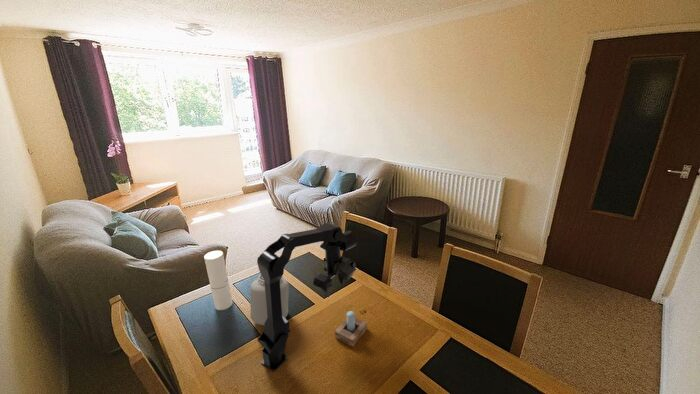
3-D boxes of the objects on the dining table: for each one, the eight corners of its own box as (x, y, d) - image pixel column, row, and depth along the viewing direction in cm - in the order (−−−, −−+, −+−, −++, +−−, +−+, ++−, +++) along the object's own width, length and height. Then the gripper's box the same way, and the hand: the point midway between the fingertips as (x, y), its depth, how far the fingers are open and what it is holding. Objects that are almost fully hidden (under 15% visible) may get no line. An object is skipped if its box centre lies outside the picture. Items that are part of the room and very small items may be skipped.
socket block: (353, 346, 101) (353, 340, 100) (335, 337, 105) (334, 331, 105) (367, 328, 109) (367, 322, 108) (349, 320, 113) (349, 314, 112)
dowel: (352, 337, 105) (351, 318, 102) (345, 334, 107) (345, 314, 104) (356, 332, 108) (356, 313, 105) (350, 329, 109) (349, 310, 106)
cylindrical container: (235, 299, 128) (226, 250, 120) (227, 310, 121) (217, 259, 113) (220, 298, 129) (210, 250, 120) (211, 309, 122) (200, 259, 114)
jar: (270, 297, 128) (263, 249, 120) (299, 303, 124) (294, 253, 116) (244, 328, 111) (234, 273, 103) (276, 336, 107) (268, 280, 99)
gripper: (335, 274, 95) (337, 311, 100) (364, 250, 110) (364, 284, 115) (310, 264, 101) (313, 301, 106) (340, 243, 115) (342, 275, 121)
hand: (335, 290), depth 112 cm, fingers open, 9 cm apart
